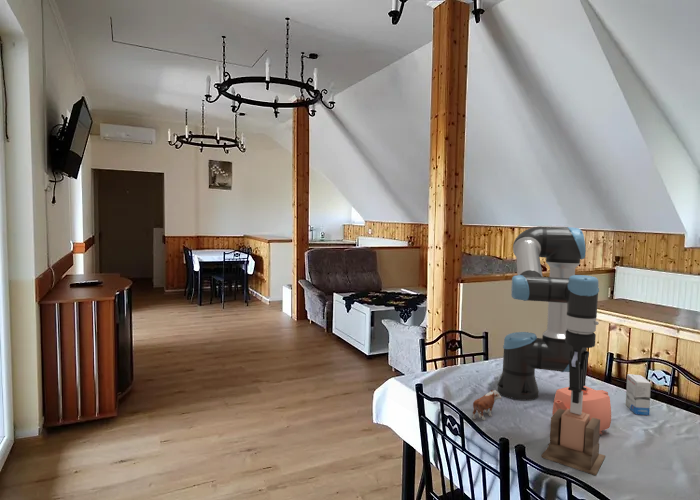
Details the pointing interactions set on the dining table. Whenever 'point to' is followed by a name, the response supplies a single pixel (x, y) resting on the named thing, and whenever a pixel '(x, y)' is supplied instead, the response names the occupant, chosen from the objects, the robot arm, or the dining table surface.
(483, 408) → the bull figurine
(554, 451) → the wooden slotted stand
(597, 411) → the teapot
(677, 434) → the dining table surface
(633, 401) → the ink box
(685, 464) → the dining table surface
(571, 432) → the block
